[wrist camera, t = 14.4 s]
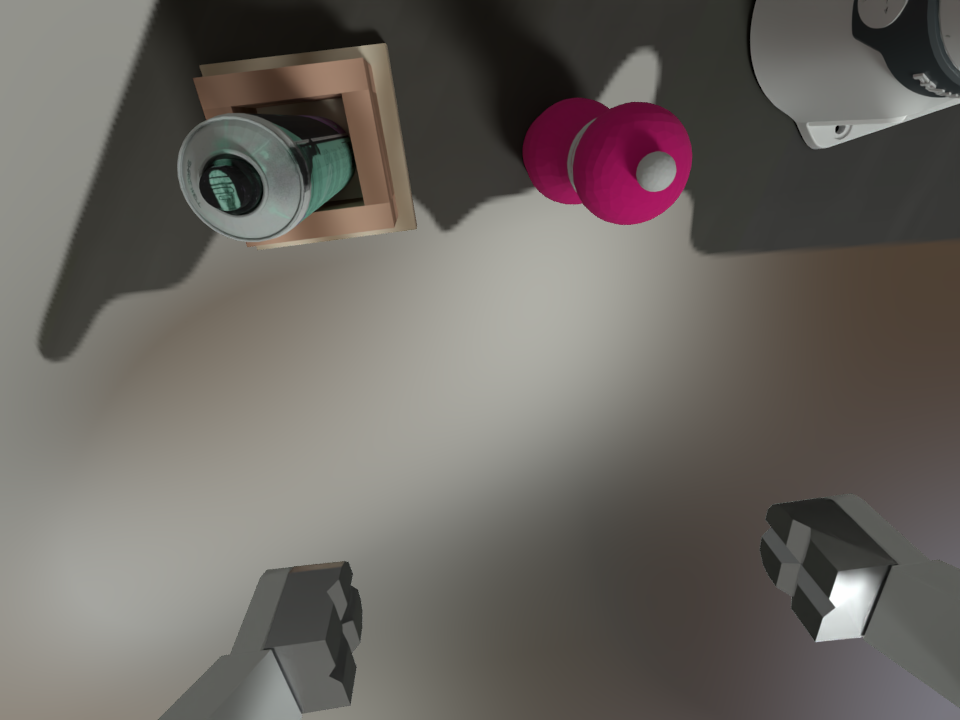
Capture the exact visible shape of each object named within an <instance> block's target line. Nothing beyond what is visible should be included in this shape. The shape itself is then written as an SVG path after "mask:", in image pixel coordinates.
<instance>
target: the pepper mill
mask: <svg viewBox="0 0 960 720" xmlns="http://www.w3.org/2000/svg"><path fill="white" fill-rule="evenodd" d="M523 161H524V164H525V167H526V170H527V172H528V175H529V177H530V179H531V181H532V183H533V185H534V186H535V187H536V188H537V190H538V191H539V192H540V193H542V194H543V195H544V196H545V197H547V198H549V199H551V200H553V201H556V202H559V203H563V204H581V203H583V205H584V206H585V207H586V208H587V209H588V210H589V211H590V212H591V213H593V214H594V215H595V216H597V217H598V218H600V219H602V220H604V221H607V222H610V223H614V224H619V225H631V224H638V223H642V222H645V221H648V220H651V219H653V218H655V217H656V216H658V215H660V214H661V213H663V212H664V211H665V210H667V209H668V208H669V207H670V206H671V205H672V204H673V203H674V202H675V201H676V200H677V198H678V197H679V196H680V194H681V192H682V191H683V189H684V187H685V185H686V182H687V180H688V177H689V173H690V169H691V164H692V149H691V143H690V140H689V137H688V134H687V132H686V130H685V128H684V126H683V125H682V123H681V122H680V121H679V119H678V118H677V117H676V116H675V115H673V114H672V113H671V112H670V111H668V110H666V109H664V108H662V107H661V106H658V105H655V104H651V103H647V102H646V103H645V102H630V103H625V104H622V105H619V106H616V107H614V108H611V109H609V108H608V107H606V106H604V105H603V104H602V103H599V102H597V101H595V100H590V99H586V98H570V99H564V100H562V101H560V102H557V103H555V104H553V105H552V106H550V107H549V108H547V109H546V110H545V111H544V112H543V113H542V114H541V115H540V116H539V117H537V118H536V119H535V121H534V122H533V123H532V124H531V126H530V128H529V129H528V131H527V133H526V136H525V139H524V143H523Z"/></svg>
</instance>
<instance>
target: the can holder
mask: <svg viewBox="0 0 960 720" xmlns="http://www.w3.org/2000/svg"><path fill="white" fill-rule="evenodd" d="M199 66H200V69H201V73H202V76H203V77H198V78H193V80H194V83H195V87H196V90H197V93H198V96H199V99H200V102H201V105H202V108H203V111H204V114H205V117H206V120H208V119H210V118H213V117H215V116H218V115H222V114H227V113H248V114H276V115H305V116H320V117H325V118H328V119H330V120H332V121H334V122H336V123H337V124H339V125H340V126H341V127H342V128H343V129H344V130H345V131H346V132H347V133H348V135H349V136H350V137H351V142H352V147H353V152H354V156H355V161H356V170H355V173H354V176H353V177H352V179H351V181H350V182H349V183H348V184H347V186H346V187H344V188H343V189H342V190H341V191H339V192H338V193H337V194H335V195H334V196H333V197H332V198H330V199H329V200H328V201H327V202H325V203H324V204H323V205H322V206H320V207H319V208H318V209H317V210H315V211H314V212H313V213H312V214H310V215H309V216H308V217H307V218H305V219H304V220H303V221H302V222H300V223H299V224H298V225H297V226H295V227H294V228H293V229H291V230H290V231H289V232H287V233H286V234H284V235H282V236H280V237H277V238H274V239H270V240H266V241H261V242H246V244H247V247H251V246H256V247H257V250H261V249H269V248H277V247H285V246H292V245H300V244H308V243H315V242H323V241H330V240H338V239H345V238H353V237H361V236H369V235H376V234H384V233H391V232H399V231H407V230H414V229H417V223H416V217H415V211H414V205H413V199H412V193H411V187H410V181H409V175H408V169H407V163H406V157H405V151H404V145H403V139H402V133H401V127H400V120H399V114H398V108H397V102H396V96H395V90H394V84H393V78H392V72H391V66H390V60H389V54H388V48H387V45H386V43H382V44H373V45H365V46H356V47H348V48H340V49H331V50H323V51H315V52H306V53H298V54H289V55H281V56H273V57H264V58H256V59H248V60H239V61H231V62H222V63H214V64H206V65H199Z"/></svg>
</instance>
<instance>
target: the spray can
mask: <svg viewBox="0 0 960 720" xmlns="http://www.w3.org/2000/svg"><path fill="white" fill-rule="evenodd" d="M177 170H178V179H179V183H180V187H181V190H182V192H183V194H184V197H185V199H186V201H187V203H188V204H189V206H190V207H191V209H192V210H193V212H194V213H195V214H196V215H197V216H198V217H199V218H200V219H201V220H202V221H203V222H204V223H205V224H206V225H208V226H209V227H210V228H211V229H213V230H214V231H216V232H218V233H220V234H222V235H223V236H226V237H229V238H231V239H234V240H239V241H244V242H261V241H266V240H270V239H274V238H277V237H280V236H282V235H284V234H286V233H287V232H289V231H290V230H291V229H293V228H294V227H295V226H297V225H298V224H299V223H300V222H302V221H303V220H304V219H305V218H307V217H308V216H309V215H310V214H312V213H313V212H314V211H315V210H317V209H318V208H319V207H320V206H322V205H323V204H324V203H325V202H327V201H328V200H329V199H330V198H332V197H333V196H334V195H335V194H337V193H338V192H339V191H341V190H342V189H343V188H344V187H346V186H347V184H348V183H349V182H350V181H351V179H352V177H353V176H354V173H355V170H356V161H355V156H354V152H353V147H352V142H351V137H350V136H349V135H348V133H347V132H346V131H345V130H344V129H343V128H342V127H341V126H340V125H339V124H337V123H336V122H334V121H332V120H330V119H328V118H325V117H320V116H305V115H276V114H248V113H227V114H222V115H218V116H215V117H213V118H210V119H208V120H206V121H204V122H202V123H200V124H198V125H197V126H196V127H195V128H194V129H192V130H191V131H190V132H189V134H188V135H187V137H186V138H185V139H184V141H183V143H182V146H181V148H180V151H179V156H178V162H177Z"/></svg>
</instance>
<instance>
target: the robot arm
mask: <svg viewBox="0 0 960 720" xmlns="http://www.w3.org/2000/svg"><path fill="white" fill-rule="evenodd" d="M750 48H751V58H752V64H753V68H754V72H755V75H756V78H757V80H758V82H759V85H760V87H761V88H762V90H763V92H764V93H765V95H766V96H767V97H768V99H769V100H770V101H771V102H772V103H773V104H774V105H775V106H776V107H777V108H779V109H780V110H781V111H783V112H784V113H786V114H787V115H789V116H790V117H791V118H792V119H793V120H794V121H795V122H796V124H797V126H798V129H799V131H800V133H801V135H802V137H803V139H804V141H805V143H806V144H807V145H808V146H809V147H810V148H813V149H820V148H828V147H831V146H834V145H837V144H840V143H843V142H846V141H849V140H852V139H855V138H858V137H861V136H864V135H867V134H870V133H873V132H875V131H878V130H881V129H884V128H887V127H890V126H893V125H896V124H899V123H902V122H905V121H908V120H911V119H914V118H917V117H920V116H923V115H926V114H929V113H932V112H935V111H938V110H941V109H944V108H947V107H950V106H953V105H956V104H959V103H960V0H756V3H755V7H754V11H753V16H752V23H751V33H750ZM837 125H839V129H838V131H837V132H835V128H836V126H837ZM765 520H766V521H767V522H768V524H769V525H770V526H771V528H770V529H769V530H768V531H767V532H766V533H765V534H764V535H763V536H762V537H761V544H760V554H761V558H762V563H763V566H764V568H765V570H766V572H767V574H768V576H769V577H770V579H771V580H772V582H773V583H774V585H775V586H776V587H777V588H779V589H781V590H782V591H784V592H785V593H787V594H788V595H790V596H792V599H791V600H792V601H791V609H792V610H793V612H794V613H795V614H796V616H797V617H798V619H799V620H800V621H801V623H802V624H803V626H804V627H805V628H806V630H807V631H808V632H809V634H810V635H811V637H812V638H813V639H814V641H815V642H820V641H829V640H839V639H848V638H858V637H864V638H863V640H864V641H866V642H867V643H869V644H870V645H871V646H873V647H874V648H876V649H877V650H878V651H880V652H881V653H883V654H884V655H886V656H887V657H888V658H890V659H891V660H893V661H894V662H895V663H897V664H898V665H900V666H901V667H902V668H904V669H905V670H907V671H908V672H910V673H911V674H912V675H914V676H915V677H917V678H918V679H919V680H921V681H922V682H924V683H925V684H927V685H928V686H929V687H931V688H932V689H934V690H935V691H937V692H938V693H939V694H941V695H942V696H943V697H945V698H946V699H948V700H949V701H951V702H952V703H953V704H955V705H956V706H958V707H959V708H960V569H958V568H956V567H954V566H952V565H949V564H947V563H945V562H943V561H940V560H932V561H930V560H929V559H928V558H927V557H926V556H924V555H923V554H922V553H921V552H920V551H919V550H918V549H917V548H916V547H915V546H913V545H912V544H911V543H910V542H909V541H908V540H907V539H906V538H905V537H904V536H902V535H901V534H900V533H899V532H898V531H897V530H896V529H895V528H894V527H892V526H891V525H890V524H889V523H888V522H887V521H886V520H884V519H883V518H882V517H881V516H880V515H879V514H878V513H877V512H876V511H875V510H874V509H873V508H871V507H870V506H869V505H868V504H867V503H866V502H865V501H864V500H863V499H861V498H860V497H858V496H856V495H854V494H845V495H837V496H830V497H824V498H814V499H807V500H800V501H793V502H786V503H779V504H773V505H772V506H771V507H770V508H769V509H768V510H767V515H766V519H765ZM352 576H353V573H352V570H351V567H350V564H349V562H346V561H342V562H333V563H323V564H313V565H304V566H294V567H288V568H279V569H270V570H266V572H265V573H264V574H263V575H262V576H261V578H260V580H259V582H258V585H257V587H256V590H255V592H254V595H253V598H252V600H251V602H250V605H249V608H248V610H247V613H246V615H245V618H244V620H243V623H242V625H241V628H240V631H239V633H238V636H237V638H236V641H235V643H234V646H233V648H232V651H231V654H230V655H224V656H221V657H220V658H219V659H218V660H217V661H216V662H215V663H214V664H213V665H212V666H211V667H210V668H209V669H208V670H207V671H206V672H205V673H204V674H203V675H202V676H201V677H200V678H199V679H198V680H197V681H196V682H195V683H194V684H193V685H192V686H191V687H190V688H189V689H188V690H187V691H186V692H185V693H184V694H183V695H182V696H181V697H180V698H179V699H178V700H177V701H176V702H175V703H174V704H173V705H172V706H171V707H170V708H169V709H168V710H167V711H166V712H165V713H164V714H163V715H162V716H161V717H160V718H159V719H158V720H301V718H302V713H308V712H314V711H320V710H326V709H332V708H338V707H344V706H350V705H351V699H352V693H353V686H354V680H355V674H356V668H357V667H356V664H355V661H354V658H353V655H352V653H353V651H354V650H355V649H356V648H357V646H358V645H359V644H360V640H361V633H362V604H361V598H360V595H359V592H358V590H357V589H356V588H354V587H353V586H351V582H352Z"/></svg>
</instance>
